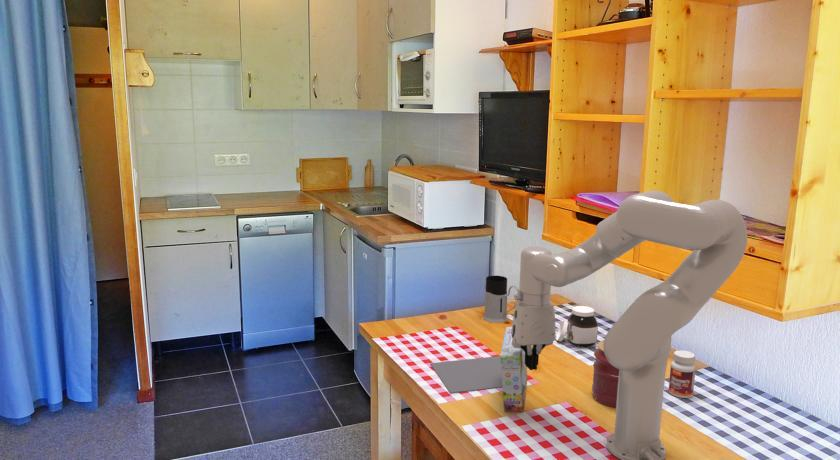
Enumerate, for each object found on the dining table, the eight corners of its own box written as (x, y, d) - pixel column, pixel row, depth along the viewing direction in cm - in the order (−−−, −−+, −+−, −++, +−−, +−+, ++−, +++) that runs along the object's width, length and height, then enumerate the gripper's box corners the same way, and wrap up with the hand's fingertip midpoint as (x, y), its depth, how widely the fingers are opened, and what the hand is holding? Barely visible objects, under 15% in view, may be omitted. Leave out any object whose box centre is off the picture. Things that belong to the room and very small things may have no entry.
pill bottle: (667, 396, 169) (671, 356, 167) (669, 386, 174) (672, 348, 172) (692, 400, 166) (696, 360, 164) (693, 391, 172) (697, 351, 170)
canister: (586, 386, 174) (589, 325, 171) (633, 387, 174) (638, 325, 171) (598, 409, 161) (603, 343, 158) (650, 409, 161) (655, 344, 158)
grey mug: (493, 312, 235) (494, 273, 232) (525, 322, 225) (526, 281, 222) (478, 318, 228) (479, 278, 225) (510, 328, 219) (512, 286, 216)
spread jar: (600, 348, 202) (602, 313, 199) (568, 351, 199) (570, 316, 196) (580, 334, 213) (582, 301, 211) (550, 338, 210) (551, 304, 207)
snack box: (525, 412, 158) (520, 355, 155) (503, 412, 159) (497, 356, 157) (528, 375, 178) (524, 324, 176) (508, 375, 180) (504, 325, 177)
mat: (526, 384, 175) (526, 383, 175) (450, 393, 170) (450, 392, 170) (499, 357, 194) (499, 356, 194) (430, 364, 189) (430, 363, 189)
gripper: (512, 304, 150) (509, 377, 154) (569, 300, 154) (565, 371, 157) (500, 295, 157) (497, 364, 161) (555, 291, 161) (551, 359, 164)
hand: (531, 367), depth 159 cm, fingers closed
